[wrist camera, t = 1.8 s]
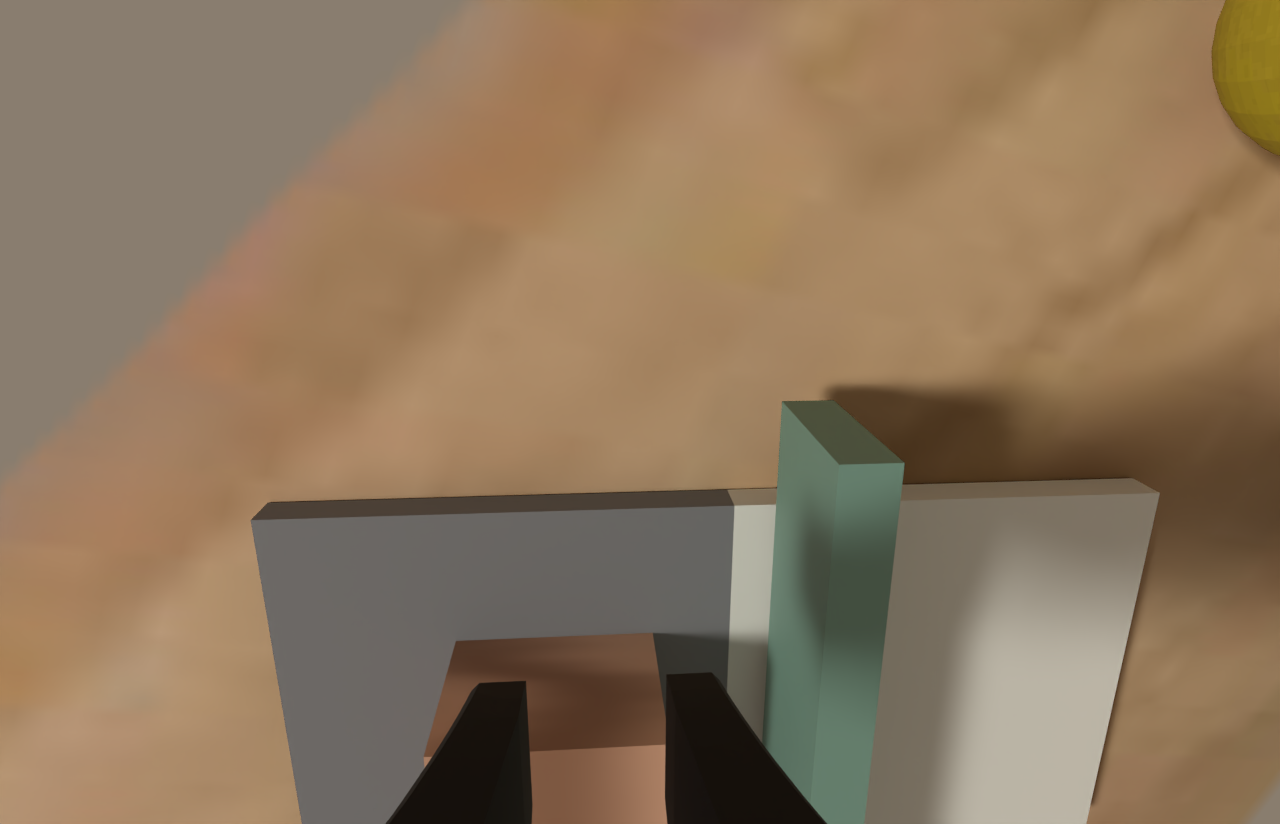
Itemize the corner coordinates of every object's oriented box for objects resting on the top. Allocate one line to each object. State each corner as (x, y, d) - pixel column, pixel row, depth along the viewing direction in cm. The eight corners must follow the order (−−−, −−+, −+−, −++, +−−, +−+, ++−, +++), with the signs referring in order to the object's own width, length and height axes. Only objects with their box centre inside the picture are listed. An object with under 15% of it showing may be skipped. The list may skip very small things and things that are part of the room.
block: (469, 799, 20) (443, 941, 17) (455, 640, 19) (423, 756, 15) (651, 789, 21) (667, 926, 17) (652, 632, 19) (669, 744, 15)
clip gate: (752, 900, 22) (789, 1054, 18) (781, 401, 17) (838, 464, 13) (793, 897, 22) (838, 1051, 18) (833, 400, 17) (904, 462, 13)
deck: (323, 849, 22) (311, 880, 21) (267, 502, 19) (250, 520, 18) (1063, 806, 23) (1084, 832, 22) (1132, 477, 20) (1160, 492, 19)
